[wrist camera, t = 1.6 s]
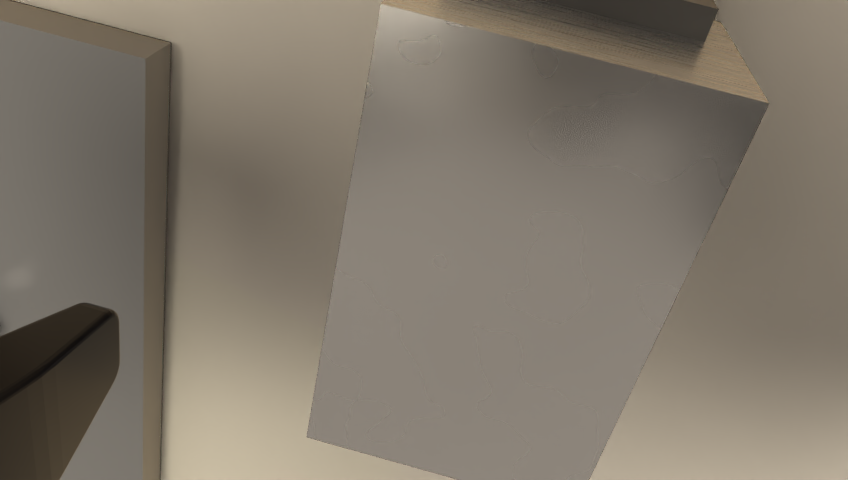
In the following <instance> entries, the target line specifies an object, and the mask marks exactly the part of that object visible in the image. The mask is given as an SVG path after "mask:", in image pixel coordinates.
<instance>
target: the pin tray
mask: <svg viewBox="0 0 848 480" xmlns="http://www.w3.org/2000/svg"><path fill="white" fill-rule="evenodd" d="M170 55H171V43H170V42H166V41H162V40H159V39H155V38H151V37H147V36H143V35H140V34H136V33H132V32H128V31H124V30H121V29H117V28H113V27H109V26H105V25H102V24H98V23H94V22H90V21H86V20H83V19H79V18H75V17H71V16H68V15H64V14H60V13H56V12H52V11H49V10H45V9H41V8H37V7H33V6H30V5H26V4H22V3H18V2H14V1H11V0H0V336H1V335H4V334H6V333H9V332H11V331H13V330H16V329H18V328H21V327H23V326H25V325H28V324H30V323H33V322H35V321H37V320H40V319H42V318H44V317H47V316H49V315H52V314H54V313H56V312H59V311H61V310H64V309H66V308H68V307H71V306H73V305H76V304H79V303H91V304H94V305H98V306H101V307H105V308H109V309H112V310H113V311H115V312H116V313H117V315H118V317H119V329H120V366H119V370H118V374H117V376H116V379H115V381H114V383H113V385H112V387H111V389H110V390H109V392H108V394H107V396H106V398H105V399H104V401H103V403H102V405H101V407H100V408H99V410H98V412H97V414H96V416H95V417H94V419H93V421H92V423H91V425H90V426H89V428H88V430H87V432H86V434H85V435H84V437H83V439H82V441H81V443H80V445H79V446H78V448H77V450H76V452H75V454H74V455H73V457H72V459H71V461H70V463H69V464H68V466H67V468H66V470H65V472H64V473H63V475H62V477H61V478H60V480H160V452H161V413H162V373H163V333H164V293H165V254H166V214H167V174H168V134H169V94H170Z"/></svg>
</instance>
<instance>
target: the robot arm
mask: <svg viewBox="0 0 848 480" xmlns="http://www.w3.org/2000/svg"><path fill="white" fill-rule="evenodd" d="M119 366H120V329H119V317H118V315H117V313H116V312H115V311H113V310H112V309H109V308H105V307H101V306H98V305H94V304H91V303H79V304H76V305H73V306H71V307H68V308H66V309H64V310H61V311H59V312H56V313H54V314H52V315H49V316H47V317H44V318H42V319H40V320H37V321H35V322H33V323H30V324H28V325H25V326H23V327H21V328H18V329H16V330H13V331H11V332H9V333H6V334H4V335H1V336H0V480H60V478H61V477H62V475H63V473H64V472H65V470H66V468H67V466H68V464H69V463H70V461H71V459H72V457H73V455H74V454H75V452H76V450H77V448H78V446H79V445H80V443H81V441H82V439H83V437H84V435H85V434H86V432H87V430H88V428H89V426H90V425H91V423H92V421H93V419H94V417H95V416H96V414H97V412H98V410H99V408H100V407H101V405H102V403H103V401H104V399H105V398H106V396H107V394H108V392H109V390H110V389H111V387H112V385H113V383H114V381H115V379H116V376H117V374H118V370H119Z"/></svg>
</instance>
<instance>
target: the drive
mask: <svg viewBox="0 0 848 480" xmlns="http://www.w3.org/2000/svg"><path fill="white" fill-rule="evenodd" d="M717 11H718V8H717V6H716V4H715V3H714V1H713V0H384V1H383V2H382V3H381V5H380V11H379V17H378V23H377V28H376V34H375V40H374V46H373V52H372V58H371V64H370V69H369V75H368V81H367V87H366V93H365V99H364V105H363V110H362V116H361V122H360V128H359V134H358V140H357V145H356V151H355V157H354V163H353V169H352V175H351V181H350V186H349V192H348V198H347V204H346V210H345V216H344V222H343V227H342V233H341V239H340V245H339V251H338V257H337V263H336V268H335V274H334V280H333V286H332V292H331V298H330V303H329V309H328V315H327V321H326V327H325V333H324V339H323V344H322V350H321V356H320V362H319V368H318V374H317V380H316V385H315V391H314V397H313V403H312V409H311V415H310V421H309V426H308V432H307V437H308V438H311V439H315V440H319V441H322V442H326V443H329V444H333V445H336V446H340V447H344V448H347V449H351V450H354V451H358V452H361V453H365V454H369V455H372V456H376V457H379V458H383V459H386V460H390V461H393V462H397V463H401V464H404V465H408V466H411V467H415V468H418V469H422V470H426V471H429V472H433V473H436V474H440V475H443V476H447V477H451V478H454V479H458V480H589V479H590V477H591V475H592V472H593V470H594V468H595V466H596V464H597V462H598V460H599V458H600V456H601V454H602V452H603V450H604V447H605V445H606V443H607V441H608V439H609V437H610V435H611V433H612V431H613V429H614V427H615V424H616V422H617V420H618V418H619V416H620V414H621V412H622V410H623V408H624V406H625V404H626V401H627V399H628V397H629V395H630V393H631V391H632V389H633V387H634V385H635V383H636V381H637V378H638V376H639V374H640V372H641V370H642V368H643V366H644V364H645V362H646V360H647V358H648V355H649V353H650V351H651V349H652V347H653V345H654V343H655V341H656V339H657V337H658V335H659V333H660V330H661V328H662V326H663V324H664V322H665V320H666V318H667V316H668V314H669V312H670V310H671V307H672V305H673V303H674V301H675V299H676V297H677V295H678V293H679V291H680V289H681V287H682V284H683V282H684V280H685V278H686V276H687V274H688V272H689V270H690V268H691V266H692V264H693V261H694V259H695V257H696V255H697V253H698V251H699V249H700V247H701V245H702V243H703V241H704V238H705V236H706V234H707V232H708V230H709V228H710V226H711V224H712V222H713V220H714V218H715V216H716V213H717V211H718V209H719V207H720V205H721V203H722V201H723V199H724V197H725V195H726V193H727V190H728V188H729V186H730V184H731V182H732V180H733V178H734V176H735V174H736V172H737V170H738V167H739V165H740V163H741V161H742V159H743V157H744V155H745V153H746V151H747V149H748V147H749V144H750V142H751V140H752V138H753V136H754V134H755V132H756V130H757V128H758V126H759V124H760V122H761V119H762V117H763V115H764V113H765V111H766V109H767V107H768V105H769V102H768V100H767V99H766V97H765V95H764V94H763V92H762V90H761V89H760V87H759V85H758V84H757V82H756V80H755V79H754V77H753V75H752V74H751V72H750V70H749V68H748V67H747V65H746V63H745V62H744V60H743V58H742V57H741V55H740V53H739V52H738V50H737V48H736V47H735V45H734V43H733V42H732V40H731V38H730V37H729V35H728V33H727V31H726V30H725V28H724V26H723V25H722V23H721V22H719V21H715V20H714V19H715V16H716V14H717Z"/></svg>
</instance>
